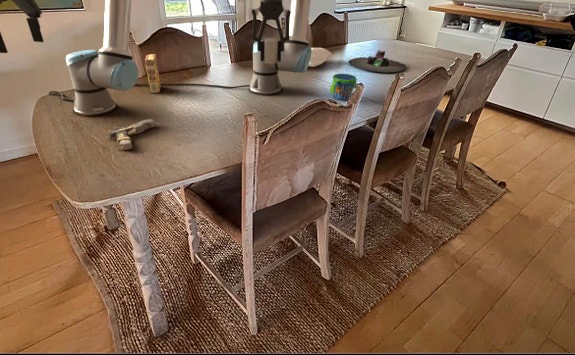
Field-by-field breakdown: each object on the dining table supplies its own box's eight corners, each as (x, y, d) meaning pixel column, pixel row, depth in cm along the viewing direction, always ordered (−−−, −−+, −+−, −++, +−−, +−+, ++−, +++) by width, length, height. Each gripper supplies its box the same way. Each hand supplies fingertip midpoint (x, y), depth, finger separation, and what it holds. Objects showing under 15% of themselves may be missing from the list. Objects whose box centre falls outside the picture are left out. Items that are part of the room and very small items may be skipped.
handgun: (169, 128, 131) (147, 116, 139) (122, 144, 120) (101, 130, 128) (170, 135, 133) (148, 122, 141) (123, 152, 121) (102, 137, 129)
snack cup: (347, 91, 179) (350, 71, 174) (362, 98, 172) (365, 77, 167) (322, 97, 172) (324, 75, 166) (336, 104, 165) (339, 82, 159)
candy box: (159, 92, 169) (154, 59, 161) (150, 93, 168) (144, 59, 160) (161, 86, 176) (156, 54, 168) (151, 86, 175) (146, 54, 167)
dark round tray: (418, 67, 219) (420, 52, 215) (377, 75, 202) (379, 59, 197) (375, 58, 244) (377, 43, 239) (336, 64, 226) (337, 49, 222)
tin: (276, 64, 131) (277, 42, 126) (261, 62, 131) (261, 41, 127) (279, 60, 135) (280, 38, 131) (264, 58, 136) (264, 37, 132)
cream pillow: (271, 61, 216) (273, 46, 210) (312, 52, 236) (315, 38, 230) (297, 77, 204) (300, 61, 198) (339, 66, 224) (342, 52, 218)
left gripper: (-40, -38, 81) (-3, 58, 93) (40, -41, 102) (62, 38, 113) (-70, -40, 82) (-29, 56, 93) (16, -42, 103) (41, 36, 114)
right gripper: (242, -10, 116) (244, 62, 129) (300, -9, 118) (297, 63, 131) (242, -13, 123) (244, 57, 135) (297, -11, 125) (294, 57, 137)
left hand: (21, 46), depth 103 cm, fingers open, 13 cm apart
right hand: (270, 60), depth 133 cm, fingers closed on tin, 6 cm apart
